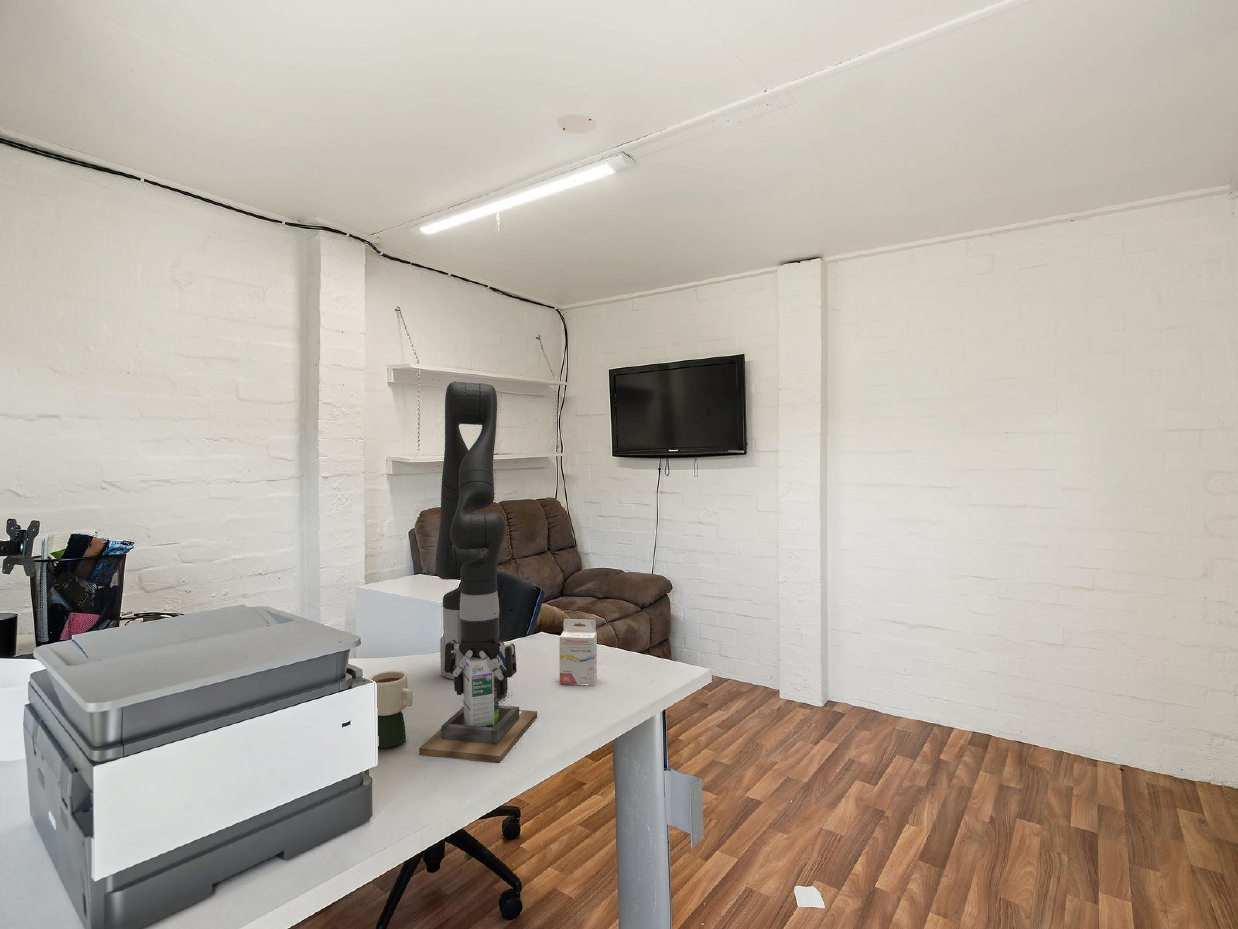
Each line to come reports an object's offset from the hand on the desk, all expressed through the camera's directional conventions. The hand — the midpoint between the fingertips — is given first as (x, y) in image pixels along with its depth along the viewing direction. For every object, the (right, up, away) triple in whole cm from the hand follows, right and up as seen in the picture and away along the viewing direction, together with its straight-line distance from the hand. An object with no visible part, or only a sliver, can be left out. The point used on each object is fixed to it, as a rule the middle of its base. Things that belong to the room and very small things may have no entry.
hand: (480, 695), depth 129 cm
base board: (0, -8, 0) cm, 8 cm away
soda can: (-2, -7, +20) cm, 21 cm away
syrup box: (0, -7, 0) cm, 7 cm away
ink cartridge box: (+18, -7, +28) cm, 34 cm away
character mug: (-17, -8, -3) cm, 19 cm away
